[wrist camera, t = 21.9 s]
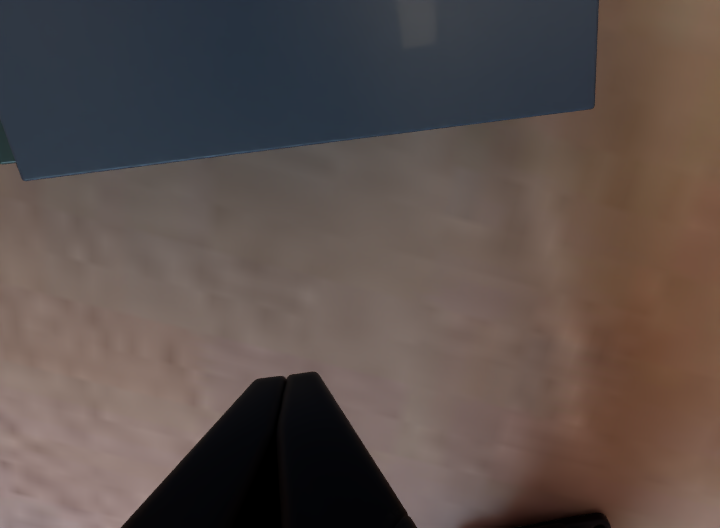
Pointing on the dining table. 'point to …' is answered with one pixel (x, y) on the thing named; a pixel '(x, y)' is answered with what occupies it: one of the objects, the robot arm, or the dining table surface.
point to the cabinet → (274, 74)
